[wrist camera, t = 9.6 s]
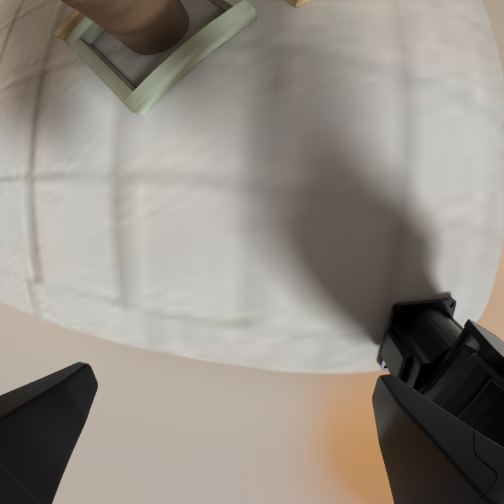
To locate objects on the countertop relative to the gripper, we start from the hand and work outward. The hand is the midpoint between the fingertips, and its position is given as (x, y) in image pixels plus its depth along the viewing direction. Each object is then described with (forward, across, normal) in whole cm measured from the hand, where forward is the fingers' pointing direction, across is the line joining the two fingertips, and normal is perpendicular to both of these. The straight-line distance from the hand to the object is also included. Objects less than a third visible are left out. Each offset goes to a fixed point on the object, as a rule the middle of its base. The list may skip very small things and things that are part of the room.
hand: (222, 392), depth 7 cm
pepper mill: (+13, +7, -18) cm, 24 cm away
